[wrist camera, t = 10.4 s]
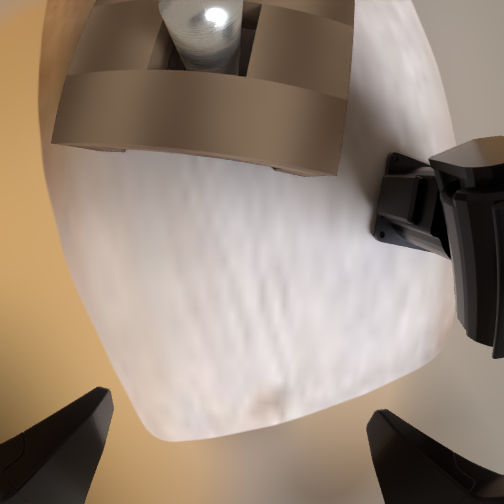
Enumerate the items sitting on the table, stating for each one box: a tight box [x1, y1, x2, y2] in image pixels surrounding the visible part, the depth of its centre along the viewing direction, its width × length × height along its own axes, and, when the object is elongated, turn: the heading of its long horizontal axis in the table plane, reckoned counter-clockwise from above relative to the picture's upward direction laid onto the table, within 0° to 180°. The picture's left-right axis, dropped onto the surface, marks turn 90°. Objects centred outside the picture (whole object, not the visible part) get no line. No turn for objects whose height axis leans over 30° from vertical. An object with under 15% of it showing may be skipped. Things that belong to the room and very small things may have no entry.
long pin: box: [159, 0, 243, 76], centre depth 11 cm, size 3×3×9 cm
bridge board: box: [51, 0, 355, 177], centre depth 13 cm, size 14×12×6 cm
